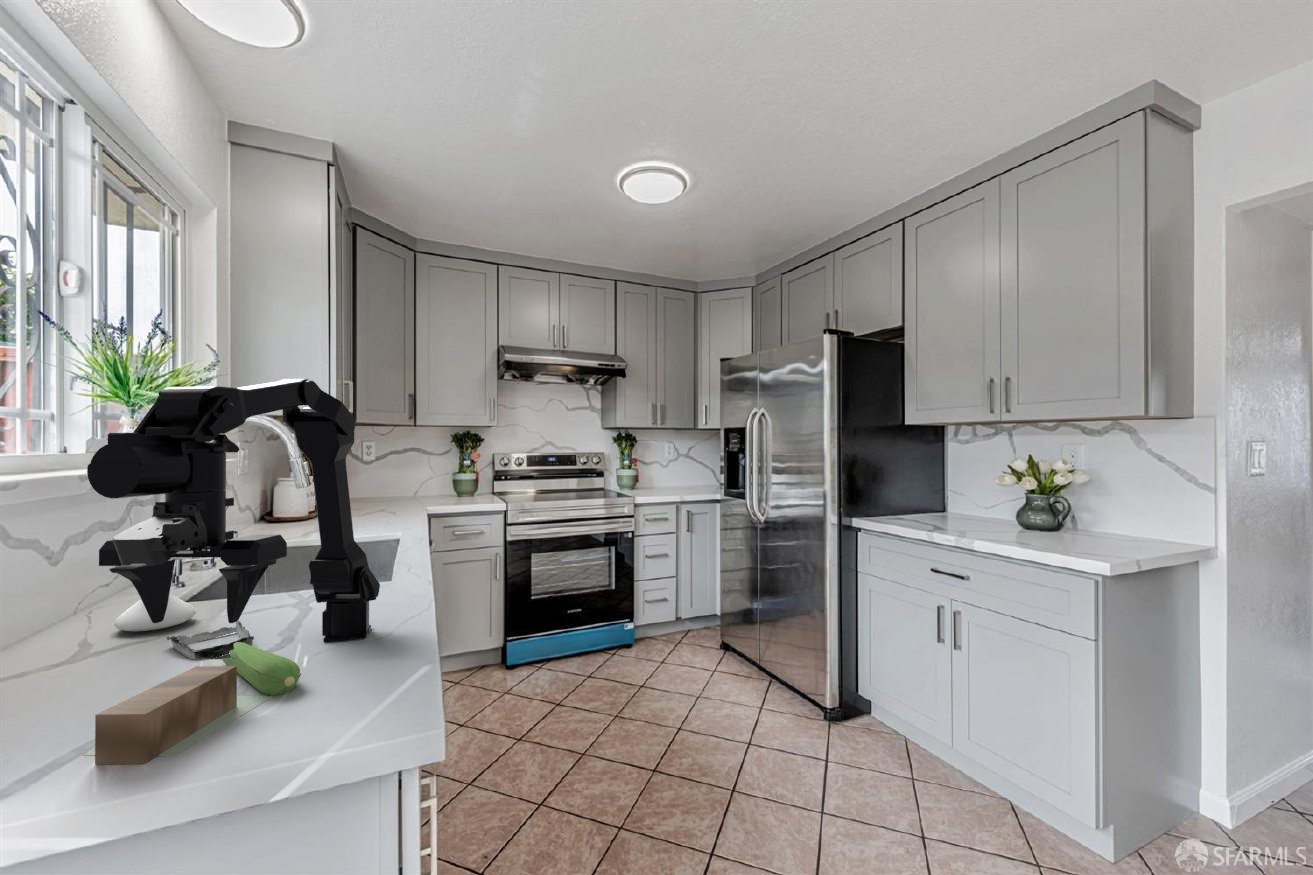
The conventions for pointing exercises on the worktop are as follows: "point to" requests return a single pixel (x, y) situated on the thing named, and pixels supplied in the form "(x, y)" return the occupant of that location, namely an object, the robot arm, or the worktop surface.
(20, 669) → the worktop surface
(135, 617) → the flower in vase
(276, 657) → the green zucchini
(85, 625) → the worktop surface
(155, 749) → the walnut post
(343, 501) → the robot arm
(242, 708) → the sage board
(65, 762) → the worktop surface
